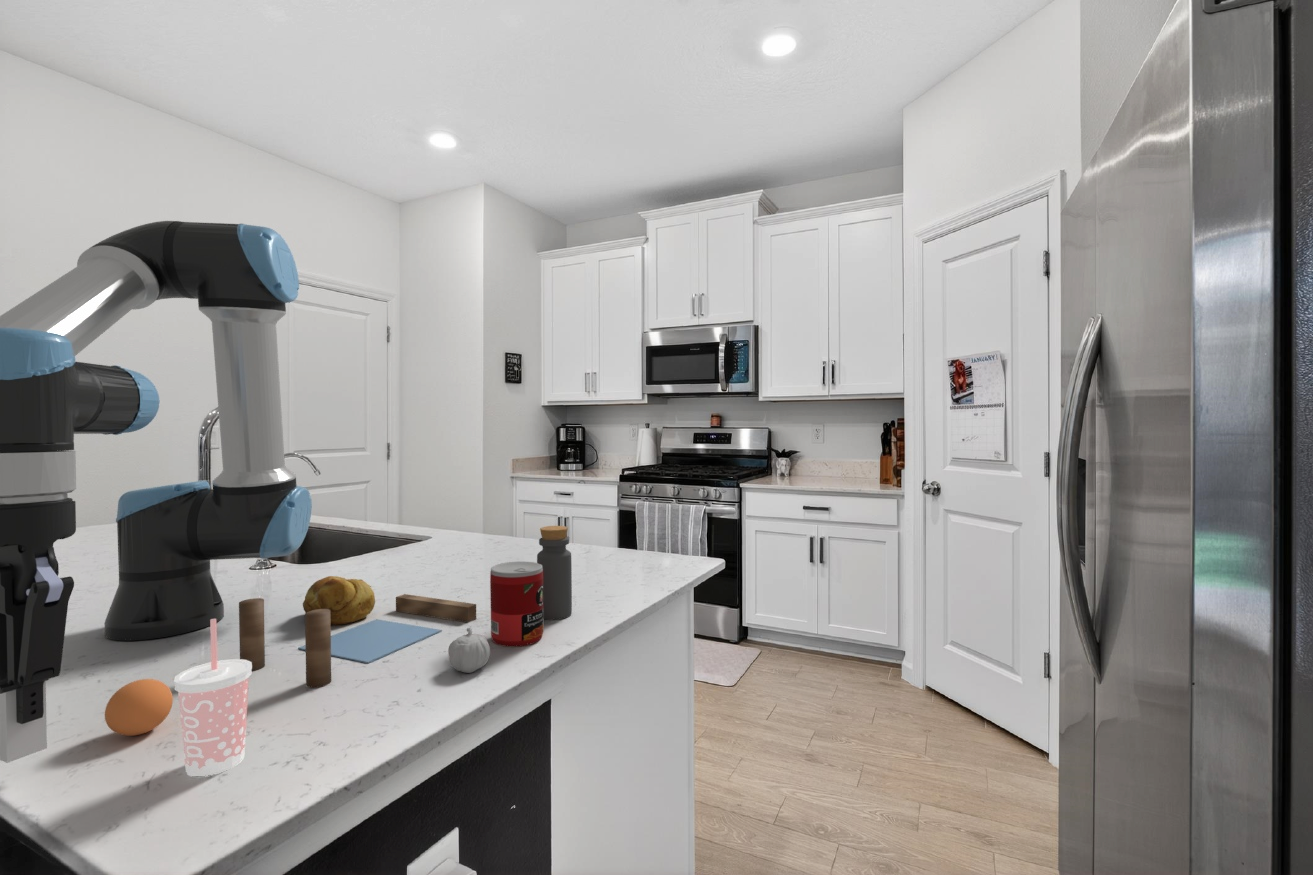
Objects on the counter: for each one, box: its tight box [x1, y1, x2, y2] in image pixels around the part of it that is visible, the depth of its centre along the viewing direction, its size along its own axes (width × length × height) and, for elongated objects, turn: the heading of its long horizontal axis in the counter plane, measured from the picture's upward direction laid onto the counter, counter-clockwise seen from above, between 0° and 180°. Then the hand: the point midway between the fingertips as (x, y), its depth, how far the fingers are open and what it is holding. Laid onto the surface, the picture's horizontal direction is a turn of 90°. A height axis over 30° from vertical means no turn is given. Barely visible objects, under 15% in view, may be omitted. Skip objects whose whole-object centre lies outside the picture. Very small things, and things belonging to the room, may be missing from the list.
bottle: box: [536, 525, 573, 621], centre depth 103 cm, size 6×6×15 cm
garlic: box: [447, 627, 491, 674], centre depth 80 cm, size 6×5×5 cm
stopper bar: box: [395, 593, 477, 623], centre depth 103 cm, size 16×2×2 cm, turn 67°
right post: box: [304, 609, 332, 689], centre depth 76 cm, size 3×3×9 cm
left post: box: [238, 597, 266, 672], centre depth 81 cm, size 3×3×9 cm
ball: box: [104, 678, 174, 737], centre depth 64 cm, size 6×6×6 cm
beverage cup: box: [173, 619, 253, 777], centre depth 58 cm, size 6×6×14 cm
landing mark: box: [298, 618, 443, 664], centre depth 92 cm, size 14×14×1 cm
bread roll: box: [302, 575, 376, 626], centre depth 102 cm, size 13×10×8 cm
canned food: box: [489, 561, 544, 648], centre depth 92 cm, size 8×8×11 cm
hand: (23, 753), depth 55 cm, fingers closed
